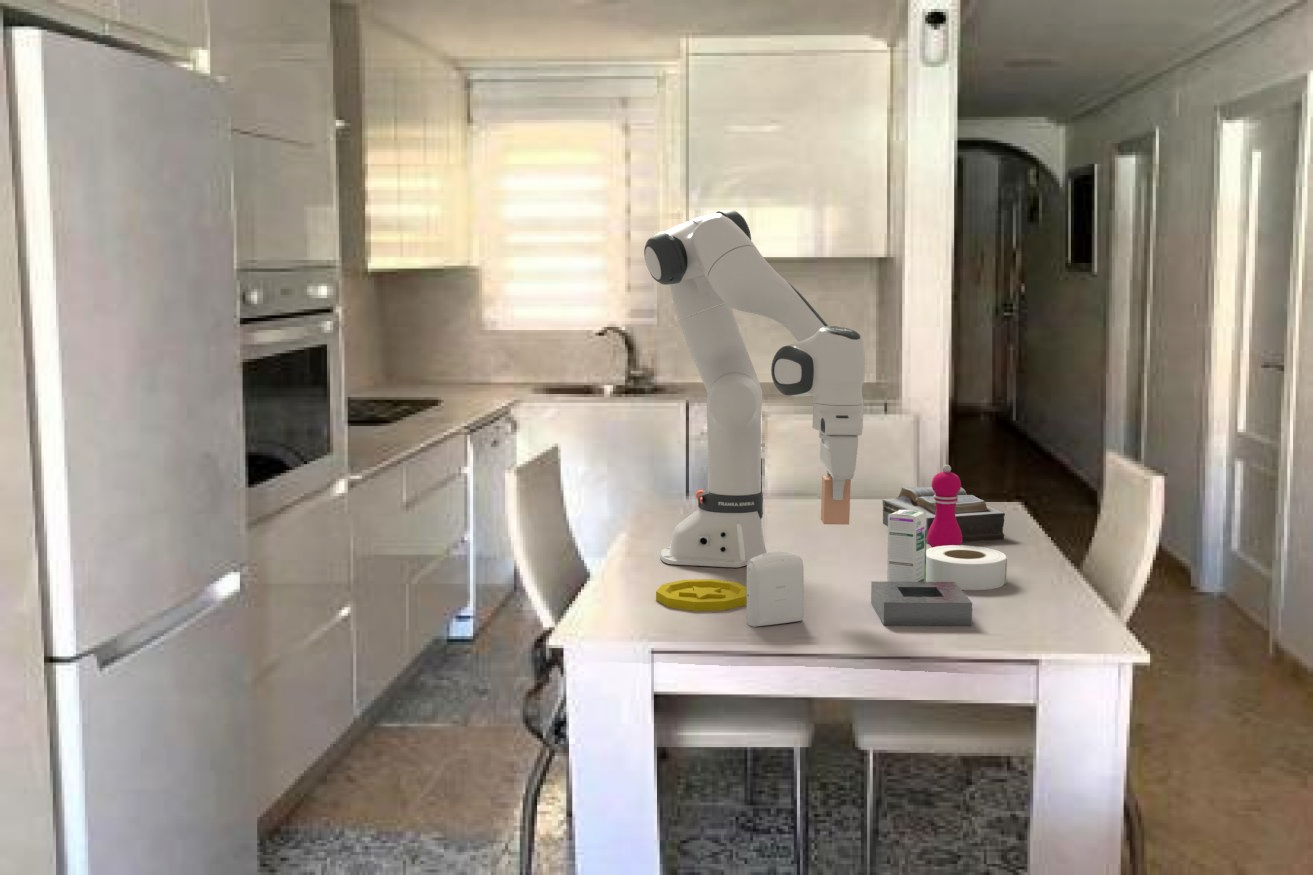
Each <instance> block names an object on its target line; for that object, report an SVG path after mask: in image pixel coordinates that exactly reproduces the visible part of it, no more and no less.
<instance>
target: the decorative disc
mask: <svg viewBox="0 0 1313 875" xmlns="http://www.w3.org/2000/svg"><path fill="white" fill-rule="evenodd" d="M655 600H656V601H657V602H658V603H661V604H662V605H663V606H665V607H667V608H673V609H677V610H679V609H680V610H686V611H692V612H705V611H706V612H708V611H710V612H711V611H713V612H715V611H727V610H731V609H735V608H736V609H737V608H739V607H744V606H747V586H745V585H744V584H741V583H739V582H736V581H735V582H734V581H728V580H721V579H715V578H714V579H713V578H706V579H705V578H704V579H703V578H701V579H696V578H695V579H680V580H675V581H671V582H667V583H662V584H661V585H659V587H658V589H656V590H655Z"/></svg>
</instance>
